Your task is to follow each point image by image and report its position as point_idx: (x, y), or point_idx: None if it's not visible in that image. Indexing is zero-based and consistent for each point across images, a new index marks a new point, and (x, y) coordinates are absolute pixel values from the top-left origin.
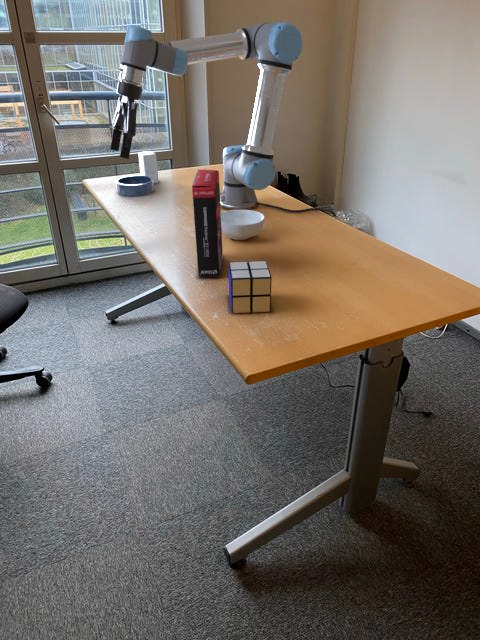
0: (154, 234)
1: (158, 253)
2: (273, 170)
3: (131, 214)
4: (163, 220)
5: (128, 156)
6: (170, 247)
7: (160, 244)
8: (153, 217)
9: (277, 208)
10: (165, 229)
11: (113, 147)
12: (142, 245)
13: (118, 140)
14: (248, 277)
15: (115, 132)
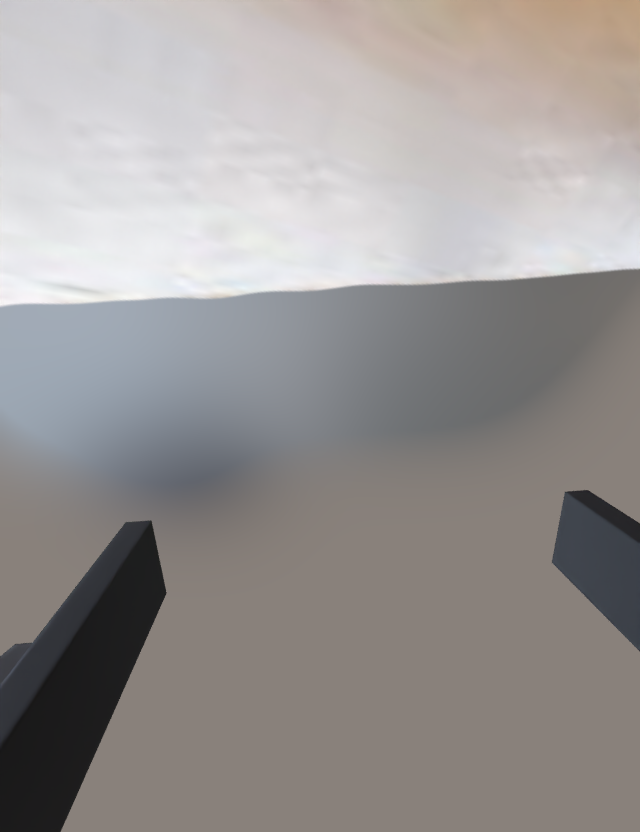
0: (341, 188)
1: (524, 232)
2: None
3: (38, 223)
4: (160, 68)
5: (604, 508)
6: (506, 165)
7: (455, 198)
8: (99, 114)
9: None
10: (300, 109)
11: (151, 590)
12: (425, 269)
13: (96, 633)
14: None
15: (44, 812)
